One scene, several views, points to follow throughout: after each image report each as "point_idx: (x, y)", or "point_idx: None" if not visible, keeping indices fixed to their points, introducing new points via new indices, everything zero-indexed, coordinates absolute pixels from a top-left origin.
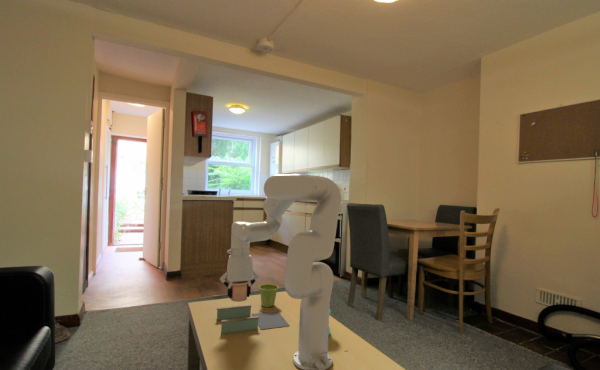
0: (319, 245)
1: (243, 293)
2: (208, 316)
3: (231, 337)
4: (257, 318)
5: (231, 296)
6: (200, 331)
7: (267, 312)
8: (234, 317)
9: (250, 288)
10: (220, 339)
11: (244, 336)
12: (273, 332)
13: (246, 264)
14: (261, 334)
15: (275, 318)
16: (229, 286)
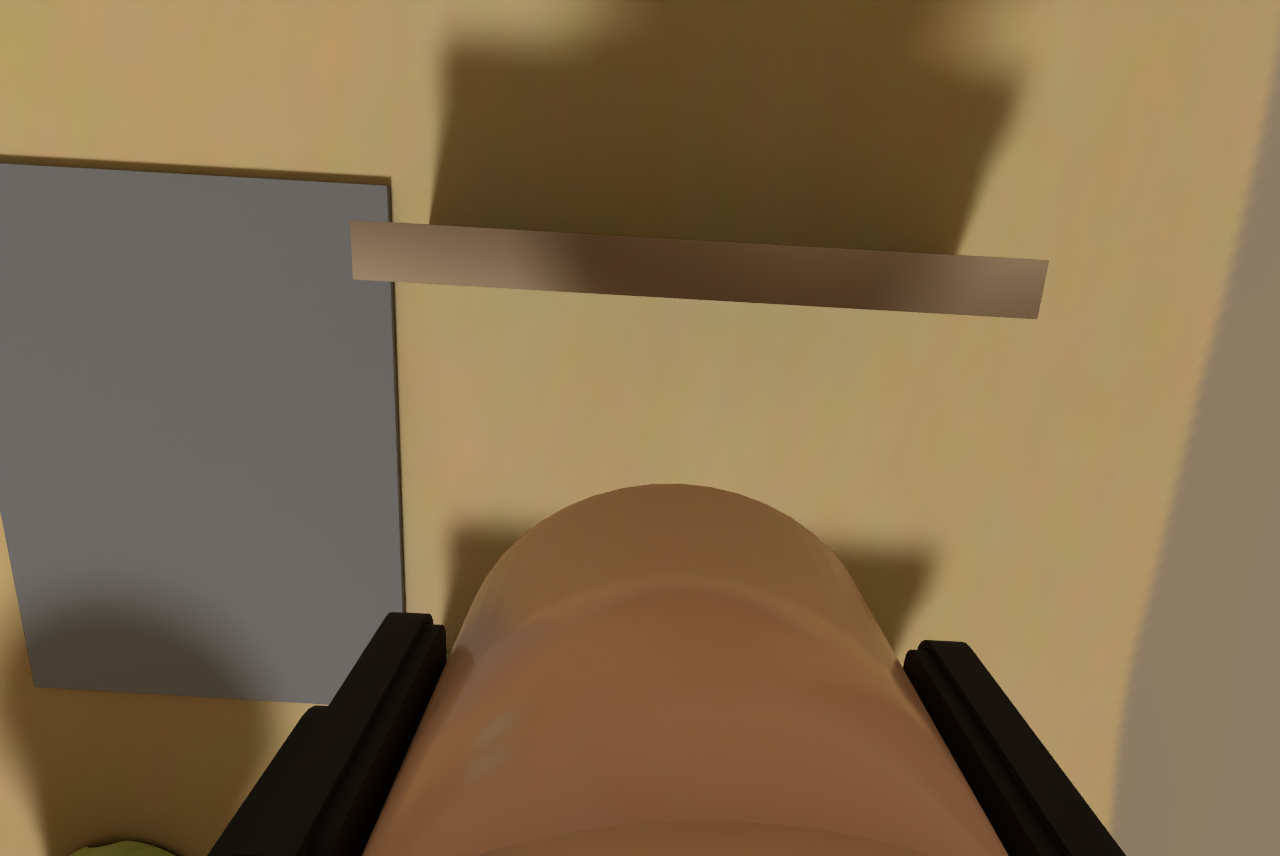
0: None
1: (583, 604)
2: None
3: (855, 86)
4: (384, 224)
5: (941, 680)
6: (1179, 421)
7: (184, 686)
8: None
9: (225, 846)
10: (1016, 77)
11: (671, 50)
12: (225, 29)
13: None
14: (416, 26)
15: (107, 469)
16: None
